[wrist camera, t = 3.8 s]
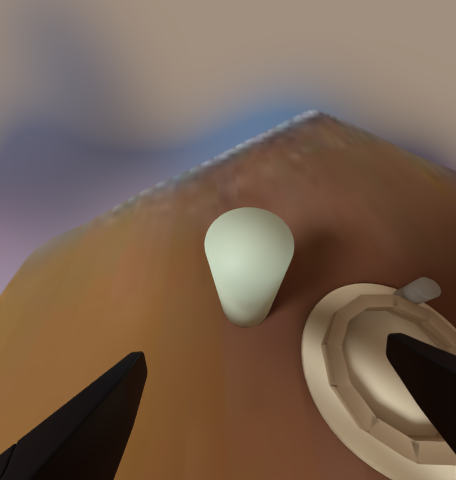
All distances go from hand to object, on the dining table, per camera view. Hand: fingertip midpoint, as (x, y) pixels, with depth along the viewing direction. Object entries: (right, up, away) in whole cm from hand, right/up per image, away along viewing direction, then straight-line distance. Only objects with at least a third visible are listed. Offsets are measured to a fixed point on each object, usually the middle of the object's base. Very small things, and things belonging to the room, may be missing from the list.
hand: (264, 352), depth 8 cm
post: (0, -2, +12) cm, 13 cm away
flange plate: (+11, -6, +9) cm, 16 cm away
